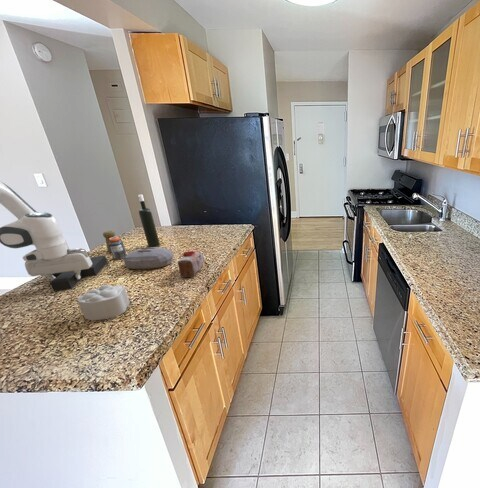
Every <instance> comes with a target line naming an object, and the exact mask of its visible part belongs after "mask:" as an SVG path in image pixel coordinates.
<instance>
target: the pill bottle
mask: <svg viewBox="0 0 480 488" xmlns="http://www.w3.org/2000/svg"><path fill="white" fill-rule="evenodd" d="M109 241H110V242H109V244H108V245H109V248H110V250H111V252H110V253H111V256H112V258H113V260H114V261H115V260H117V261H118V260H124V259H125V257H126V255H128V253H127V251H126V248H125V244H124V242H123V240H120V237H119V236H115V237H111V238H109Z"/></svg>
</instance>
